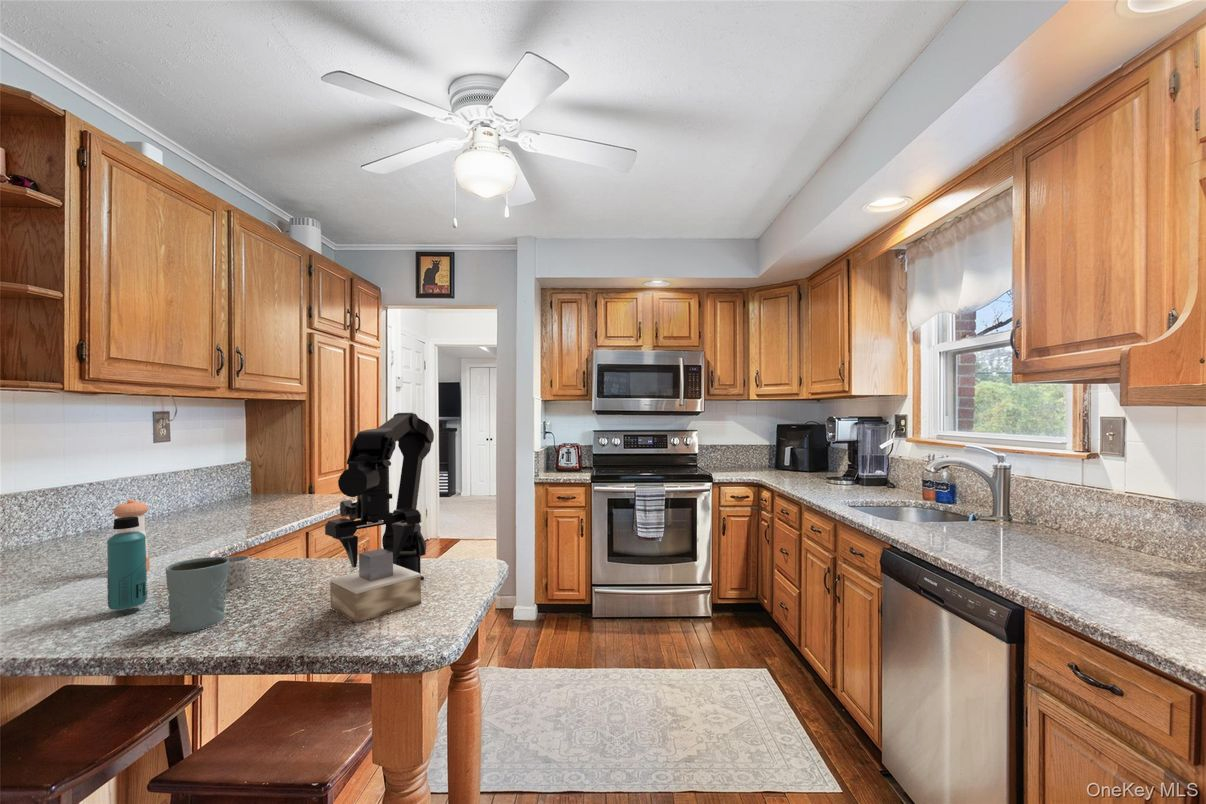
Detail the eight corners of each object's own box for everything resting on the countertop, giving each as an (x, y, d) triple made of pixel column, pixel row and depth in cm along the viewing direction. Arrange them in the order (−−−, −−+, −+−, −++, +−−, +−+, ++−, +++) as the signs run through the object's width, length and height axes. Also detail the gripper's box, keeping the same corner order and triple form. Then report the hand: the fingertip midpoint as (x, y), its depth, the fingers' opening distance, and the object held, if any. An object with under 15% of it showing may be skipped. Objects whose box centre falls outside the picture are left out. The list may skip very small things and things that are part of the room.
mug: (234, 581, 134) (233, 554, 134) (256, 583, 133) (256, 556, 133) (196, 595, 124) (195, 566, 124) (220, 597, 123) (220, 568, 123)
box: (393, 591, 125) (392, 566, 125) (420, 602, 117) (420, 577, 117) (330, 608, 115) (330, 582, 115) (356, 623, 107) (356, 594, 107)
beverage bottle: (138, 615, 113) (137, 519, 113) (99, 619, 111) (98, 521, 111) (154, 604, 119) (153, 513, 119) (117, 607, 117) (116, 515, 117)
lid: (392, 566, 125) (392, 563, 125) (420, 576, 117) (420, 573, 117) (330, 581, 115) (330, 578, 115) (356, 594, 107) (356, 591, 107)
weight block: (381, 571, 120) (381, 548, 120) (393, 575, 116) (392, 552, 116) (359, 576, 116) (359, 553, 116) (370, 581, 113) (370, 557, 113)
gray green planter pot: (152, 633, 103) (151, 570, 103) (194, 613, 113) (194, 556, 113) (203, 634, 103) (202, 570, 103) (241, 613, 113) (241, 556, 113)
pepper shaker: (149, 572, 143) (148, 499, 143) (112, 578, 138) (111, 503, 139) (149, 566, 149) (148, 496, 149) (113, 571, 144) (113, 499, 144)
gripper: (396, 481, 129) (397, 547, 128) (313, 491, 114) (314, 565, 114) (422, 485, 121) (422, 555, 121) (336, 496, 107) (337, 575, 107)
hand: (375, 562), depth 116 cm, fingers open, 9 cm apart
